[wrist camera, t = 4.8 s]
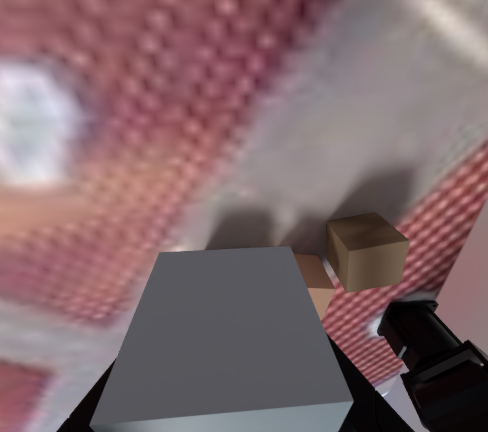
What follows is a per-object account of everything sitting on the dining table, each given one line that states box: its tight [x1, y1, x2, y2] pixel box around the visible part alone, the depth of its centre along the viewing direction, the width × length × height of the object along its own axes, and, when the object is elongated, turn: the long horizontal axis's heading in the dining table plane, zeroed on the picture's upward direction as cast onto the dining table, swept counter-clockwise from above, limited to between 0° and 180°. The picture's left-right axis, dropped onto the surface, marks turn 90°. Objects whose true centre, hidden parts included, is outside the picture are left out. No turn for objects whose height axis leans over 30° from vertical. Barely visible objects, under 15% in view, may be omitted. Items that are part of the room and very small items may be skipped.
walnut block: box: [326, 212, 410, 293], centre depth 22 cm, size 5×5×5 cm
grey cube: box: [89, 246, 354, 432], centre depth 8 cm, size 5×5×5 cm
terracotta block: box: [294, 254, 336, 320], centre depth 24 cm, size 5×5×5 cm
